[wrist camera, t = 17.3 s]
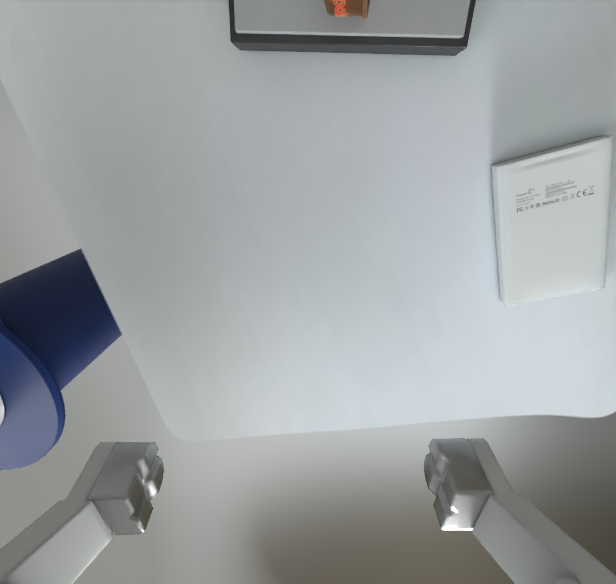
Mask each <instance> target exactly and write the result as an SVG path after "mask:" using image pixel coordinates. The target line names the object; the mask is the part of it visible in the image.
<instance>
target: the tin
mask: <svg viewBox="0 0 616 584" xmlns="http://www.w3.org/2000/svg"><path fill="white" fill-rule="evenodd" d="M324 3H325V7H326V11H327V13H328V14H329V15H330V16H336V17H347V16H359V17H363V18H364V19H367V17H368V10H369V4H370V0H324Z"/></svg>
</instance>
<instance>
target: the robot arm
mask: <svg viewBox="0 0 616 584" xmlns="http://www.w3.org/2000/svg"><path fill="white" fill-rule="evenodd" d="M4 414H5V410H4V404H3V400H2V398H1V396H0V425H1V424H2V422H3V419H4ZM429 449H430V453H429V454H427V455H426V457H425V462H424V472H425V478H426V482H427V486H428V489H429V490H430V491H431V492H432V493H433V494H434V495H435V496H436V499H435V502H434V508H435V511H436V514H437V517H438V520H439V524H440V527H441V530H472V533H473V534H474V536H475V537H476V538H477V539H478V540H479V542H480V543H481V544H482V545H483V546H484V548H485V549H486V550H487V551H488V552H489V553H490V555H492V557H493V558H494V559H495V561H496V562H497V563H498V564H499V565H500V566H501V567H502V569H503V570H504V571H505V572H506V574H507V575H508V576H509V577H510V578H511V579H512V580H513V582H514V583H515V584H616V576H615V575H614V574H613V573H612V572H611V571H610V570H608V569H607V568H606V567H605V566H604V565H602V564H601V563H600V562H599V561H598V560H597V559H595V558H594V557H593V556H592V555H591V554H589V553H588V552H587V551H586V550H585V549H584V548H582V547H581V546H580V545H579V544H578V543H576V542H575V541H574V540H573V539H572V538H571V537H569V536H568V535H567V534H566V533H565V532H563V531H562V530H561V529H560V528H559V527H558V526H557V525H555V524H554V523H553V522H552V521H551V520H549V519H548V518H547V517H546V516H545V515H544V514H542V513H541V512H540V511H539V510H538V509H536V508H535V507H534V506H533V505H532V504H531V503H529V502H528V501H527V500H526V499H525V498H524V497H522V496H521V495H515V494H514V492H513V490H512V488H511V486H510V484H509V482H508V480H507V478H506V477H505V475H504V473H503V471H502V469H501V467H500V465H499V463H498V461H497V460H496V457H495V456H494V454H493V452H492V450H491V448H490V446H489V444H488V442H487V441H486V440H484V439H482V438H474V439H473V438H472V439H465V438H454V439H453V438H452V439H432V440H431V441H430V444H429ZM157 451H158V447H157V445H156V443H155V442H101V443H100V444H99V445H98V446H97V447H96V448H95V449H94V451H93V453H92V455H91V456H90V458H89V460H88V461H87V463H86V465H85V467H84V468H83V470H82V472H81V474H80V475H79V477H78V479H77V481H76V482H75V484H74V486H73V488H72V490H71V491H70V493H69V495H68V496H67V498H66V500H63V501H59V502H57V503H56V504H55V505H54V506H53V507H51V508H50V509H49V510H48V511H47V512H45V513H44V514H43V515H42V516H41V517H39V518H38V519H37V520H35V521H34V522H33V523H32V524H31V525H29V526H28V527H27V528H26V529H25V530H23V531H22V532H21V533H20V534H18V535H17V536H16V537H15V538H13V539H12V540H11V541H10V542H9V543H7V544H6V545H5V546H4V547H3V548H1V549H0V584H73V583H74V581H75V580H76V579H77V578H78V577H79V576H80V575H81V573H82V572H83V571H84V570H85V569H86V568H87V566H88V565H89V564H90V563H91V562H92V561H93V560H94V559H95V557H96V556H97V555H98V554H99V553H100V552H101V550H102V549H103V548H104V547H105V546H106V545H107V544H108V542H109V541H110V540H111V539H112V538H113V536H112V535H134V534H144V532H145V529H146V527H147V524H148V521H149V518H150V515H151V513H152V510H153V507H152V504H151V501H150V500H151V499H152V498H153V497H154V496H155V495H156V494H157V493H158V492H159V490H160V486H161V484H162V479H163V472H164V468H163V462H162V458H160V457H159V456H157V455H156V454H157Z"/></svg>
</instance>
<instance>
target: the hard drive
mask: <svg viewBox="0 0 616 584" xmlns="http://www.w3.org/2000/svg"><path fill="white" fill-rule="evenodd" d="M612 150H613V136H612V135H611V136H599V137H595V138H591V139H587V140H583V141H580V142H576V143H572V144H568V145H564V146H561V147H557V148H553V149H549V150H546V151H542V152H538V153H534V154H531V155H527V156H523V157H519V158H516V159H512V160H508V161H504V162H501V163H497V164H494V165H491V172H492V190H493V204H494V218H495V233H496V246H497V260H498V275H499V290H500V301H501V302H502V303H503V304H504V305H505V306H513V305H519V304H524V303H529V302H534V301H539V300H544V299H550V298H555V297H560V296H566V295H571V294H576V293H581V292H587V291H592V290H597V289H601V288H604V287H605V277H606V259H607V241H608V222H609V205H610V187H611V167H612Z"/></svg>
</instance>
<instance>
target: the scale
mask: <svg viewBox="0 0 616 584" xmlns="http://www.w3.org/2000/svg"><path fill="white" fill-rule="evenodd" d="M475 1H476V0H370V4H369V10H368V17H367V19H364V18H363V17H359V16H347V17H336V16H330V15H329V14H328V13H327V11H326V7H325V3H324V0H229V13H230V35H231V42H232V43H233V44H234V45H235V46H236V47H237V48H239V49H240V50H257V51H296V52H334V53H373V54H412V55H451V56H455V55H457V54H458V53H459V52H461V51H462V50H464V49H465V48H466V47H467V44H468V38H469V33H470V28H471V22H472V17H473V12H474V6H475Z"/></svg>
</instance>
